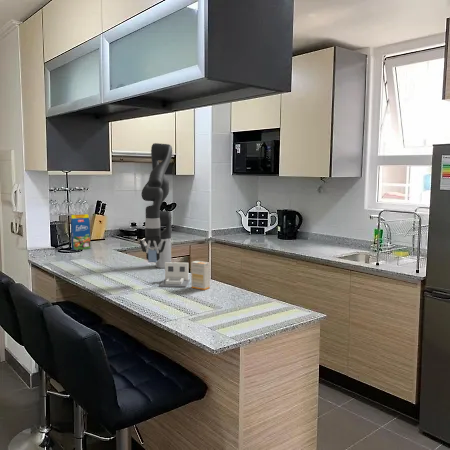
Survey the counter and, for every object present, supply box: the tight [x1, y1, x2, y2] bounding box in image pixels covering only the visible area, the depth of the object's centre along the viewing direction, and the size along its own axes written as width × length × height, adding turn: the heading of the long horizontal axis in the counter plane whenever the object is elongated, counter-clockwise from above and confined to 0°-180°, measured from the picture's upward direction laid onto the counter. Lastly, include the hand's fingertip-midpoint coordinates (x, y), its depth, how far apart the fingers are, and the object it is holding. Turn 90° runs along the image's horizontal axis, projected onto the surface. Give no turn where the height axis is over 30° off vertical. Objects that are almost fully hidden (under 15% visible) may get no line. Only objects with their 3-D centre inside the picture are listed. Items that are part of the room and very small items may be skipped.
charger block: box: [147, 248, 157, 263], centre depth 232 cm, size 4×4×6 cm
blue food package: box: [70, 213, 91, 251], centre depth 329 cm, size 6×12×25 cm, turn 121°
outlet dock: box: [159, 261, 190, 288], centre depth 232 cm, size 13×13×10 cm
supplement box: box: [190, 260, 211, 291], centre depth 224 cm, size 8×5×13 cm, turn 56°
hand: (153, 260), depth 232 cm, fingers closed on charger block, 4 cm apart
